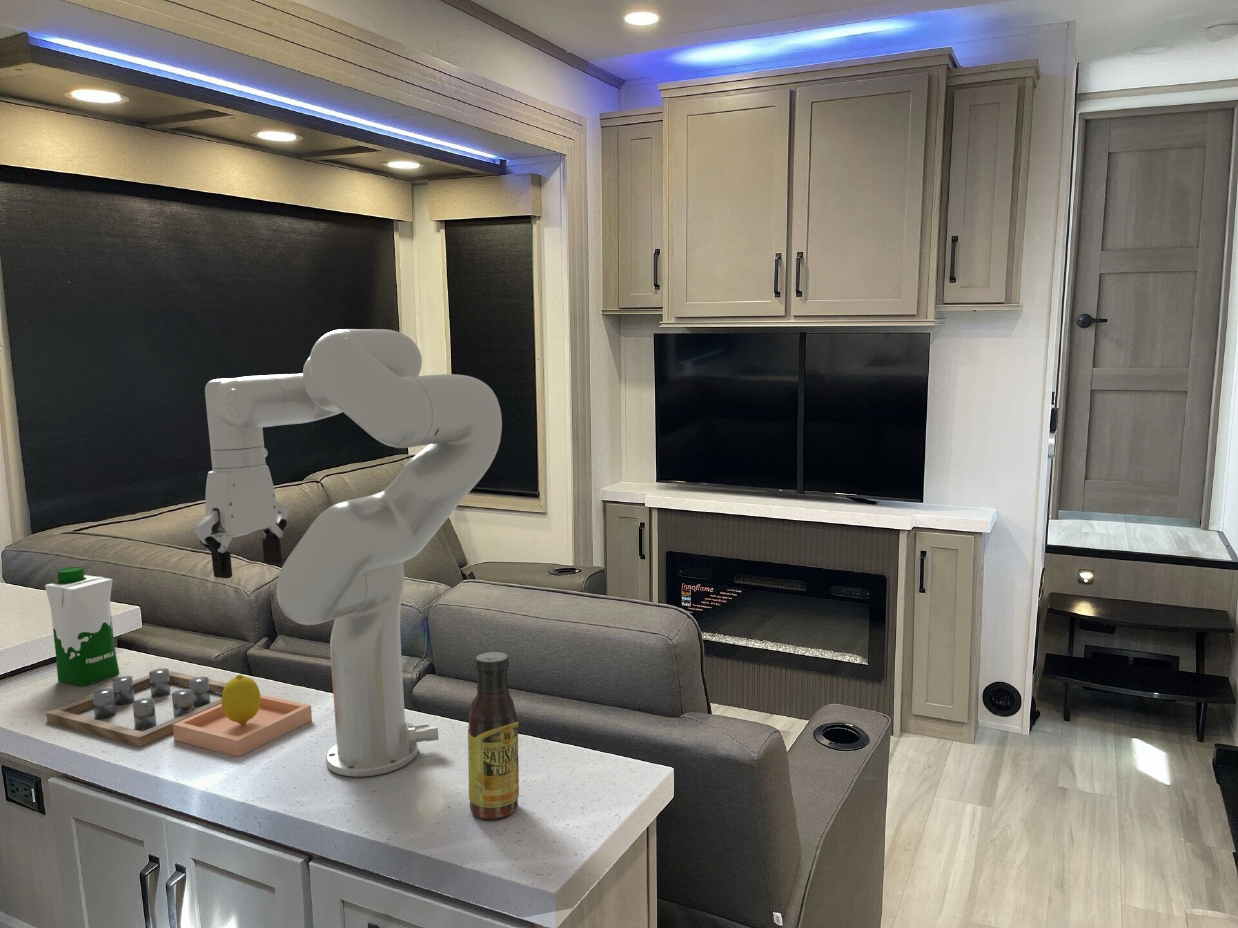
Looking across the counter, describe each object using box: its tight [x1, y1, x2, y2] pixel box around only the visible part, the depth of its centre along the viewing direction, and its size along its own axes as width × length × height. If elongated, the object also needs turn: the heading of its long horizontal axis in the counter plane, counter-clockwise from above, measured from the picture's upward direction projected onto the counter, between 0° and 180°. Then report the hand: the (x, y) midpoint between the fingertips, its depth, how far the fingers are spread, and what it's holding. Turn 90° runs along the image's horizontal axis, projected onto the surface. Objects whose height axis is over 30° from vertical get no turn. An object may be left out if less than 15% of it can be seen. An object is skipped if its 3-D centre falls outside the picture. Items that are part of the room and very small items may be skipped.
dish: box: [172, 694, 313, 758], centre depth 139 cm, size 14×14×2 cm
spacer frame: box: [45, 670, 228, 748], centre depth 148 cm, size 23×21×2 cm
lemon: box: [221, 674, 261, 725], centre depth 138 cm, size 6×6×8 cm
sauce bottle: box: [467, 651, 520, 820], centre depth 112 cm, size 7×6×20 cm
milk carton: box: [44, 566, 120, 687], centre depth 162 cm, size 9×9×20 cm
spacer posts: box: [92, 667, 211, 731], centre depth 148 cm, size 18×13×4 cm
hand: (248, 569), depth 139 cm, fingers open, 9 cm apart
